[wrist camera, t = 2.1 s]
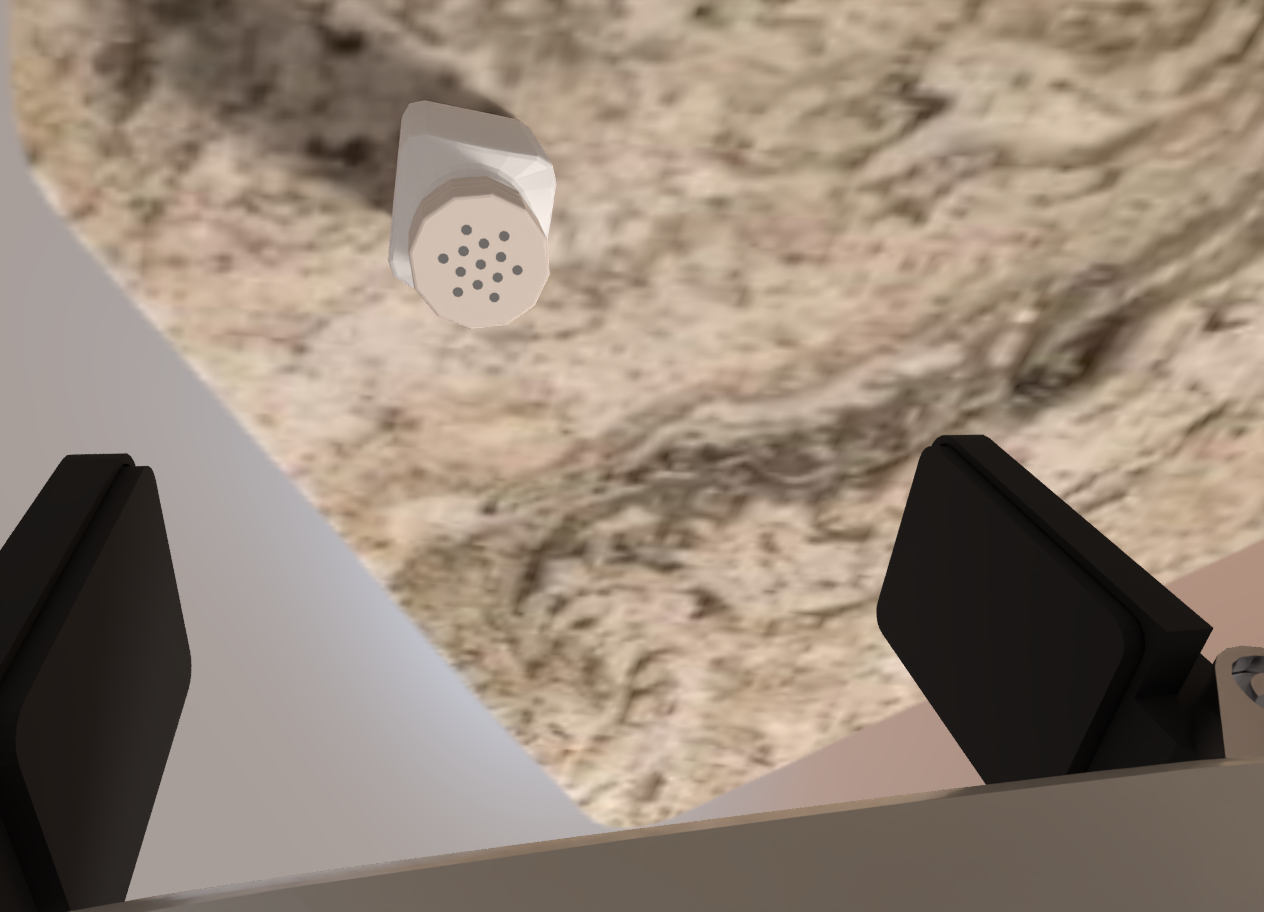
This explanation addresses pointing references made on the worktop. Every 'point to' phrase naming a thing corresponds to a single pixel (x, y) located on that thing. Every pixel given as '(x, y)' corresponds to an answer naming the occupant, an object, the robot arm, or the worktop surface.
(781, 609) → the worktop surface
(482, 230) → the pepper shaker
